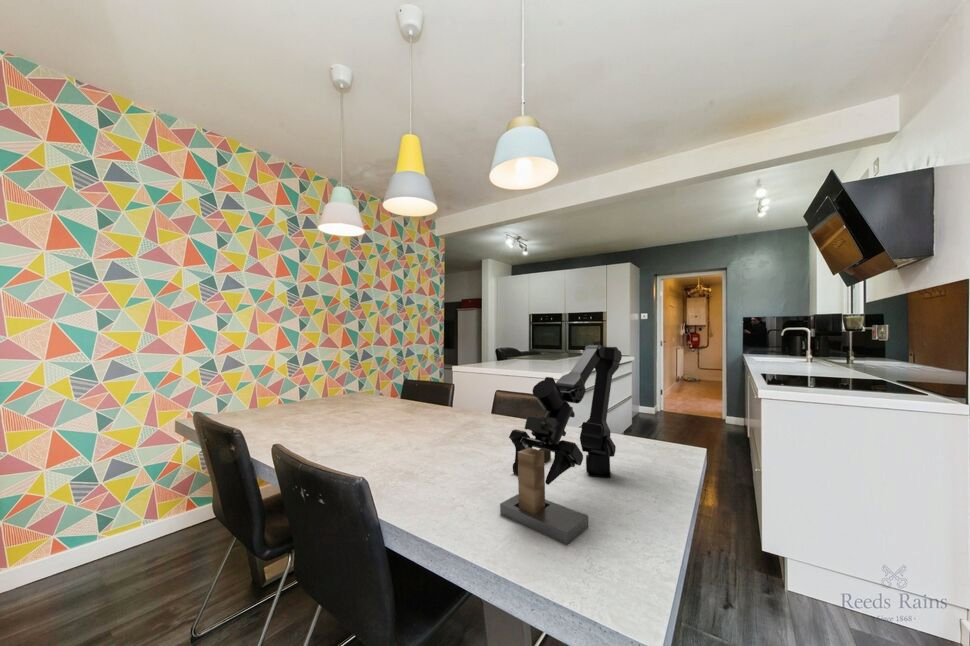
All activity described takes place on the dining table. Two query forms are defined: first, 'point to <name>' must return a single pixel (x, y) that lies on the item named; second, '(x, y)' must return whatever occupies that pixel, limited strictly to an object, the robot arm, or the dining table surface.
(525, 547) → the dining table surface
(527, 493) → the walnut post
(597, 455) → the robot arm
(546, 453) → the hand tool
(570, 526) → the grey slotted base plate
